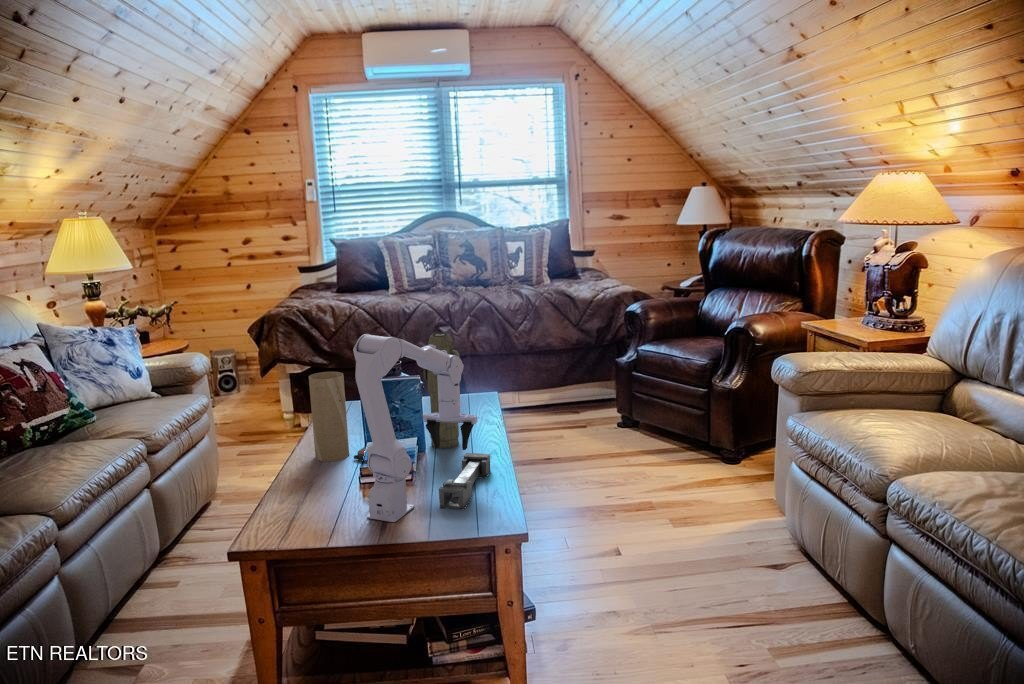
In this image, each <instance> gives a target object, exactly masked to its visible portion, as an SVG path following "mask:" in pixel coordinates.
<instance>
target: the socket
mask: <svg viewBox="0 0 1024 684" xmlns="http://www.w3.org/2000/svg"><path fill="white" fill-rule="evenodd" d="M471 460H482V462H481V463H482V471H481V473H480V474H479V476H478V477H488V476H489V475H488V474H490V473H491V454H490V453H474V452H466V453H465V454H464V455H463V459H462V460H461V472H462V471H463V470H464V468H465V467H466V466H467V464H468V463H469V462H470V461H471ZM489 472H490V473H489ZM487 475H488V476H487Z"/></svg>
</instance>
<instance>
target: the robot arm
mask: <svg viewBox="0 0 1024 684" xmlns="http://www.w3.org/2000/svg"><path fill="white" fill-rule="evenodd" d="M352 351H353V355H354V356H353V357H354V359H355V375H354V376H355V383H356V385H357V388H358V393H359V396H360V402H361V405H362V407H363V411H364V415H365V419H366V422H367V427H368V430H369V435H370V438H371V442H372V443H371V444H370V445H369V446H367V447H368V449H367V452H368V461H367V462H366V463H367V467H368V469H369V471H370V472H371V473H372V476H373V478H374V479H375V480H374V483H373V485H372V487H371V488H370V489H369V491H368V496H367V497H368V498H367V499H368V508H369V510H368V512H369V513H368V514H367V515H366V518H367V519H371V520H378V521H383V522H389V523H390V522H391V523H396V522H397V521H399V520H400V519H401V518H402V517H403V516H405V515H407V513H409V512H410V511H411V510H412V509H414V508H415V505H414V504H410V503H408V501H407V500H408V499H407V484H406V483H407V482H406V481H407V480H406V479H407V478H408V476H409V474H410V472H411V469H412V466H413V465H412V464H413V463H412V458H411V457H410V455H409V454H408V452H407V450H406V447H405V446H404V445H403V444H402V443H401V442H400V441H399V440H398V439H397V438H396V434H395V430H394V429H395V428H394V427H393V422H392V418H391V414H390V410H389V406H388V403H387V399H386V398H387V397H386V395H385V391H384V387H383V383H382V380H383V377H385V376H387V375H388V373H389V372H390V370H392V368H394V366H395V365H396V364H397V362H398V361H399V359H402V358H403V357H405V358H408V359H411V360H414V361H416V364H417V366H418V367H420V368H422V369H423V368H424V369H427V371H428V370H430V371H433V373H434V374H435V375H436V374H437V381H438V403H439V413H431V412H424V413H423V414H422V422H423V423H426V424H425V428H426V430H427V431H428V432H429V435H431V437H432V439H433V442H434V446H435V448H434V449H436V450H439V449H438V448H439V447H440V435H439V431H440V422H454V423H458V424H460V423H461V425H460V427H459V429H460V432H461V440H462V441H461V448H462V451H466V450H467V449H468V443H469V440H470V436H471V432H472V429H473V427H474V425H476V424H477V423H478V415H477V414H470V413H469V414H468V413H464V412H461V394H460V393H461V390H460V388H461V387H460V383H461V381H462V374H463V371H464V367H465V366H464V365H465V364H463V361H462V359H461V357H460V358H459V357H458V356H456V355H454V354H453V355H449V354H447V351H445V350H442V351H440V350H437V349H436V346H434V345H429V346H428V345H424V346H422V347H420V346H417V345H415V344H413V343H411V342H409V341H407V340H405V339H402V338H397V337H395V336H380V335H373V334H370V333H364V334H362V335H361V336H360V337H359V338H358V339H357V340H356V343H355V345H354V346H353V349H352ZM411 465H412V466H411Z"/></svg>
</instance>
